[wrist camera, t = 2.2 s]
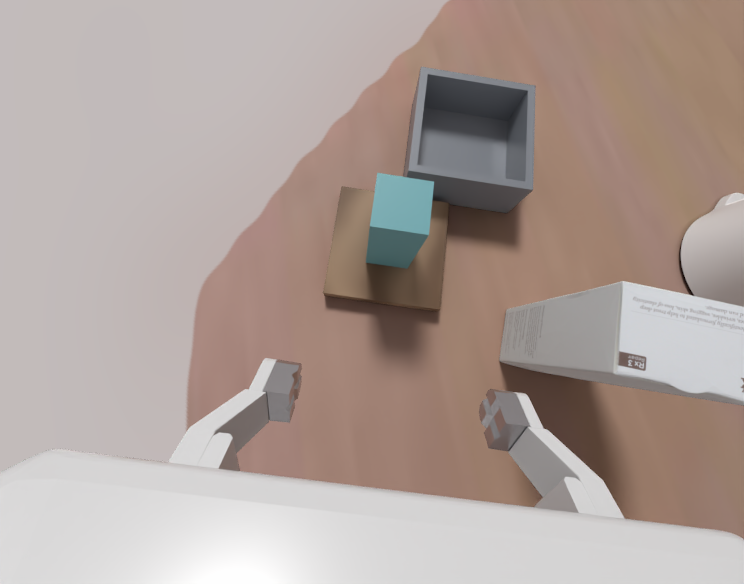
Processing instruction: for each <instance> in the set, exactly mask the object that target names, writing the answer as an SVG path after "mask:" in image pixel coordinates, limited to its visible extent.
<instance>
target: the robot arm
mask: <svg viewBox="0 0 744 584" xmlns="http://www.w3.org/2000/svg"><path fill="white" fill-rule="evenodd" d="M681 264H682V269H683V273H684V276H685V279H686V281H687V283H688V285H689V287H690V289H691V291H692V292H693V294H694V296H697V297H701V298H705V299H710V300H715V301H719V302H724V303H728V304H732V305H737V306H742V307H744V194H741V193H733V194H730V195H727V196H724V197H722V198H721V199H720V200H719V202H718V203H717V205H716V206H715V208H714V210H713V211H711V212H710V213H708V214H706V215H704V216H702V217H700V218H699V219H697V220H696V221H695V222H694V223H693V224H692V225H691V226H690V227H689V228H688V230H687V232H686V233H685V236H684V238H683V241H682V246H681ZM301 369H302V366H301V363H295V362H289V361H283V360H276V359H270V358H265V359H264V360H263V362H262V364H261V366H260V368H259V370H258V372H257V374H256V376H255V378H254V380H253V382H252V384H251V386H250V388H249V390H247V389H245V390H243V391H242V392H240V393H239V394H237V395H236V396H234V397H233V398H232V399H230V400H229V401H227V402H226V403H224V404H223V405H221V406H220V407H218V408H217V409H216V410H214V411H213V412H211V413H210V414H208V415H207V416H205V417H204V418H203V419H201V420H200V421H198V422H197V423H195V424H194V425H192V426H191V427H190V428H189V429H188V431H187V432H186V434H185V436H184V437H183V439H182V440H181V442H180V444H179V445H178V447H177V448H176V450H175V452H174V453H173V455H172V456H171V458H170V460H169V461H168V462H161V461H153V460H145V459H136V458H128V457H120V456H112V455H105V454H97V453H88V452H80V451H73V450H64V449H52V450H48V451H44V452H42V453H40V454H37V455H35V456H33V457H30V458H28V459H26V460H24V461H22V462H20V463H18V464H16V465H14V466H12V467H9V468H8V469H5V470H3V471H1V472H0V584H744V539H743V538H741V537H739V536H737V535H735V534H733V533H730V532H726V531H721V530H713V529H705V528H697V527H688V526H680V525H672V524H664V523H656V522H648V521H640V520H632V519H625V518H624V517H623V515H622V513H621V511H620V509H619V508H618V506H617V504H616V502H615V501H614V499H613V497H612V495H611V494H610V492H609V490H608V488H607V487H606V485H605V483H604V481H603V480H602V479H601V478H600V477H599V476H598V475H596V474H595V473H594V472H593V471H592V470H591V469H590V468H589V467H588V466H587V465H586V464H584V463H583V462H582V461H581V460H580V459H579V458H578V457H577V456H576V455H575V454H574V453H572V452H571V451H570V450H569V449H568V448H567V447H566V446H565V445H564V444H563V443H562V442H560V441H559V440H558V439H557V438H556V437H555V436H554V435H553V434H552V433H551V432H550V431H548V430H547V429H544V428H543V426H542V424H541V422H540V420H539V418H538V416H537V414H536V412H535V409H534V407H533V405H532V403H531V401H530V399H529V397H528V396H527V395H526V394H524V393H517V392H511V391H503V390H495V389H490V390H488V392H487V394H486V396H487V399H485V400H483V401H482V403H481V405H480V409H479V416H480V420H481V423H482V424H483V425H484V426H485V428H486V430H485V432H484V434H485V438H486V441H487V445H488V448H490V449H496V450H503V451H509V452H508V453H509V454H510V455H511V457H512V458H513V459H514V461H515V462H516V463H517V464H518V466H519V467H520V468H521V470H522V471H523V472H524V473H525V475H526V476H527V477H528V479H529V480H530V481H531V482H532V484H533V485H534V486H535V488H536V489H537V490H538V492H539V493H540V494H541V495H542V497H543V498H542V499H541V500H540V501H539V502H538V503H537V504H536V505H535V506H534V507H526V506H518V505H509V504H501V503H493V502H485V501H477V500H469V499H461V498H453V497H445V496H437V495H429V494H421V493H413V492H405V491H396V490H388V489H380V488H372V487H364V486H356V485H348V484H339V483H331V482H323V481H315V480H307V479H299V478H291V477H283V476H274V475H266V474H258V473H250V472H242V471H240V468H239V464H238V459H237V455H236V453H237V452H238V451H239V450H240V449H241V448H242V447H243V446H244V445H245V444H246V443H247V442H248V441H250V440H251V439H252V438H253V437H254V436H255V435H256V434H257V433H258V432H259V431H260V430H261V429H262V428H263V427H264V426H265V425H266V424H267V423H268V422H269V420H270V421H280V422H290V421H291V417H292V414H293V411H294V408H295V400H296V399H298V395H299V392H300V387H301V378H302V376H301V375H300V373H301Z"/></svg>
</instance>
